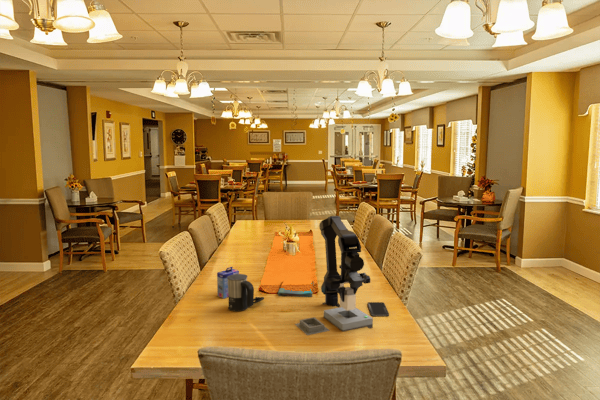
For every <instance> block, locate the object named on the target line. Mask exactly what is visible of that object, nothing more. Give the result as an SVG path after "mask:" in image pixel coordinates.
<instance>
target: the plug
mask: <svg viewBox="0 0 600 400" xmlns="http://www.w3.org/2000/svg"><path fill="white" fill-rule="evenodd" d="M344 287H345V288H346V289H345V290H344V302H342V300H341V298H340V297H339V304H340V306H339V307H342V308H344V309H345V310H347V311H348V310H354V309H356V308H357V304H356V302H357V295H356V294H354V290H353V289H351V288H350V286H344Z"/></svg>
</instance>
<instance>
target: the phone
mask: <svg viewBox="0 0 600 400" xmlns="http://www.w3.org/2000/svg"><path fill="white" fill-rule="evenodd" d="M367 308H368V311H369V313H370V314H369V315H370V317H389V316H390V313H389V311H388V307H387V306H386V304H385V302H380V301H377V302H374V301H373V302H372V301H371V302H367Z"/></svg>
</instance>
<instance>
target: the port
mask: <svg viewBox="0 0 600 400" xmlns="http://www.w3.org/2000/svg"><path fill="white" fill-rule="evenodd" d="M323 318H324V319H325V320H326V321H328V322H329V323H331V324H332V325H334V326H335V327H336V328H337V329H339V331H341V332H348V331H352V330H353V331H354V330H358V329H361V328H368V329H372V328H373V325H374V323H373V321H374V318H373V316H371V315H370V314H369V315H368V314H367V313H366V312H363V310H360V309H359V308H357V307H356V309H354V310H348V311H347V310H345V309H344V308H342V307H341V306H339V307H336V308H331V309H324V310H323Z"/></svg>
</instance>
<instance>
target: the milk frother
mask: <svg viewBox="0 0 600 400" xmlns="http://www.w3.org/2000/svg"><path fill="white" fill-rule="evenodd" d="M227 279H228V306H227V310H229V311H231V312H242V311H247V310H248V309H249V308H251V307H253V306H254V305H255V304H258V303H260V302H262V301H264V299H265V297H263V296H259V297H258V296H255V290H254V289H255V288H254V285H253V283H252V282H251V281H248V275H246V274H244V273H239V274H233V275H229V276H228V277H227ZM254 296H255V297H254Z"/></svg>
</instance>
